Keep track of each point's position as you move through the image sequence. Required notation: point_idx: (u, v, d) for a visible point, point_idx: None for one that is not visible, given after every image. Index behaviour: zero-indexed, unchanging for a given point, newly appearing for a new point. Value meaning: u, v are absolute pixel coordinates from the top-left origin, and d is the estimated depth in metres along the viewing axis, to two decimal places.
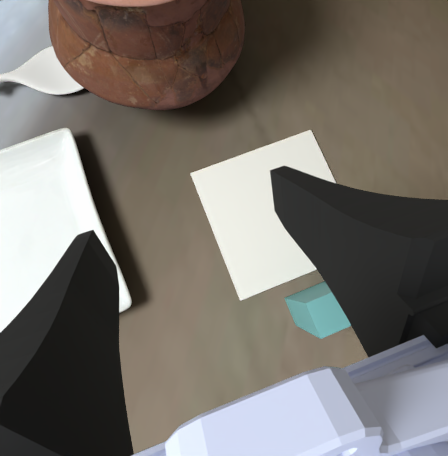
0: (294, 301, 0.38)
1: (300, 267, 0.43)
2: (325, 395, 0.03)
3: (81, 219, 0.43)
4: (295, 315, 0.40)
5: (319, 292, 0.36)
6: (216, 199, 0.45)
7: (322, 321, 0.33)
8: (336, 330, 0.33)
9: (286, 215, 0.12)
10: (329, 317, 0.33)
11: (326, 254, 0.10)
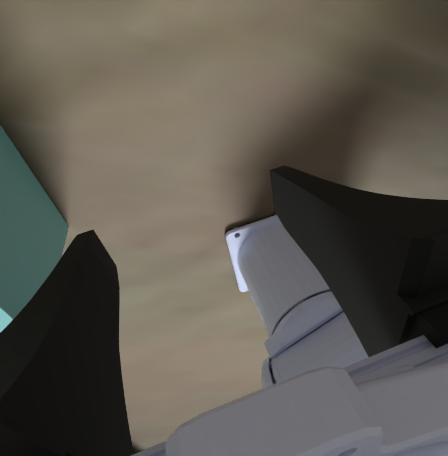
0: None
1: None
2: (325, 395, 0.03)
3: None
4: None
5: None
6: None
7: None
8: (11, 320, 0.13)
9: (286, 215, 0.12)
10: None
11: (326, 254, 0.10)
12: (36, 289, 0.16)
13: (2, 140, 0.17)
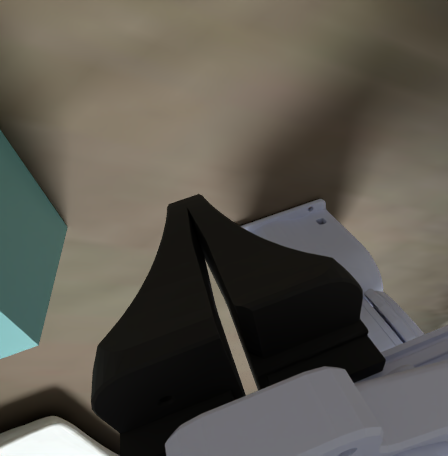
0: None
1: None
2: (325, 395, 0.03)
3: None
4: None
5: None
6: None
7: None
8: (9, 322, 0.13)
9: (201, 245, 0.11)
10: None
11: (223, 292, 0.09)
12: (34, 290, 0.16)
13: None
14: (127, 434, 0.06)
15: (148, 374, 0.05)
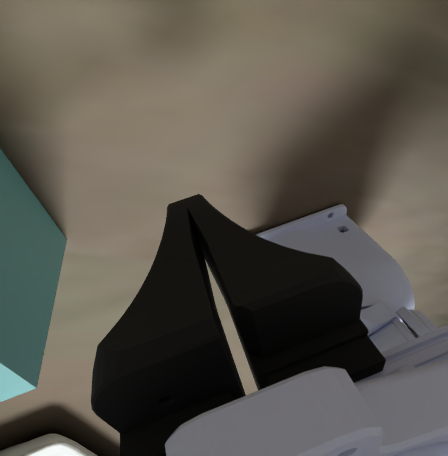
0: None
1: None
2: (325, 395, 0.03)
3: None
4: None
5: None
6: None
7: None
8: (1, 366, 0.11)
9: (201, 245, 0.11)
10: None
11: (223, 292, 0.09)
12: (31, 321, 0.13)
13: None
14: (127, 434, 0.06)
15: (148, 374, 0.05)
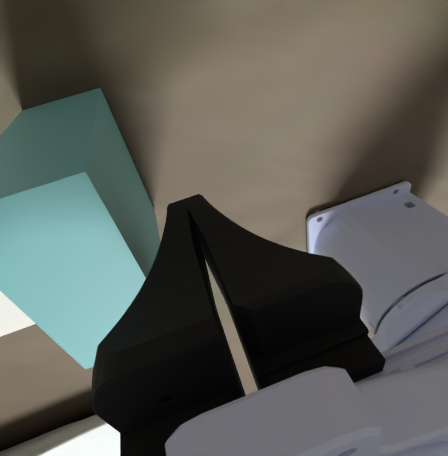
0: None
1: None
2: (325, 395, 0.03)
3: None
4: None
5: None
6: None
7: None
8: None
9: (201, 245, 0.11)
10: None
11: (223, 292, 0.09)
12: None
13: (108, 110, 0.15)
14: (127, 434, 0.06)
15: (148, 374, 0.05)
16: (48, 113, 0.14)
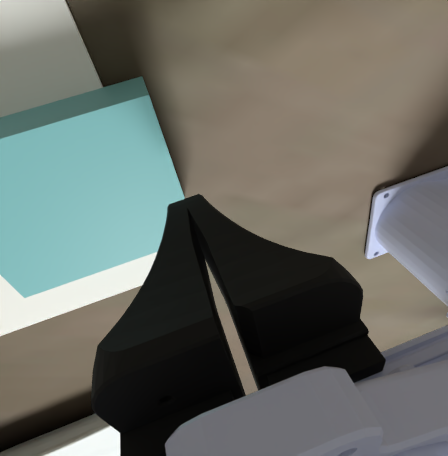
0: None
1: None
2: (325, 395, 0.03)
3: None
4: None
5: None
6: None
7: None
8: (1, 272, 0.15)
9: (201, 245, 0.11)
10: None
11: (223, 292, 0.09)
12: (57, 267, 0.16)
13: (136, 123, 0.13)
14: (127, 434, 0.06)
15: (148, 374, 0.05)
16: (96, 97, 0.14)
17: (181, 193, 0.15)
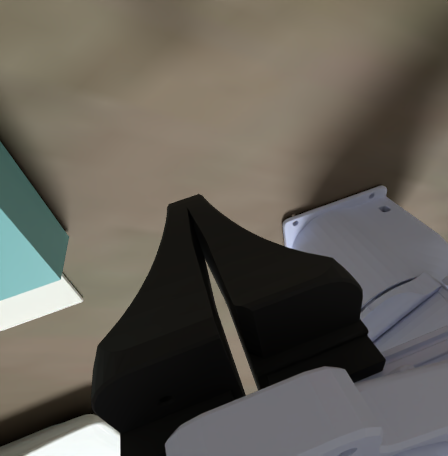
0: None
1: None
2: (325, 395, 0.03)
3: None
4: None
5: None
6: None
7: None
8: None
9: (201, 245, 0.11)
10: None
11: (223, 292, 0.09)
12: None
13: None
14: (127, 434, 0.06)
15: (148, 374, 0.05)
16: None
17: (25, 240, 0.15)
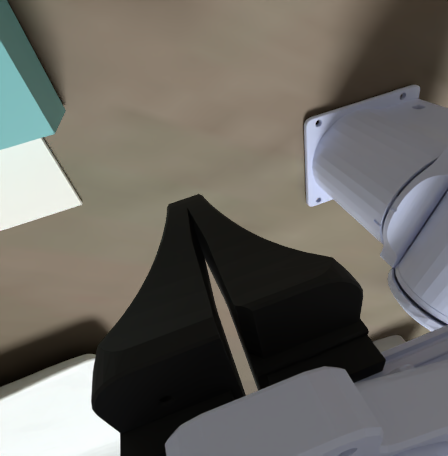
0: None
1: None
2: (325, 395, 0.03)
3: None
4: None
5: None
6: None
7: None
8: None
9: (201, 245, 0.11)
10: None
11: (223, 292, 0.09)
12: None
13: None
14: (127, 434, 0.06)
15: (148, 374, 0.05)
16: None
17: (11, 62, 0.12)
